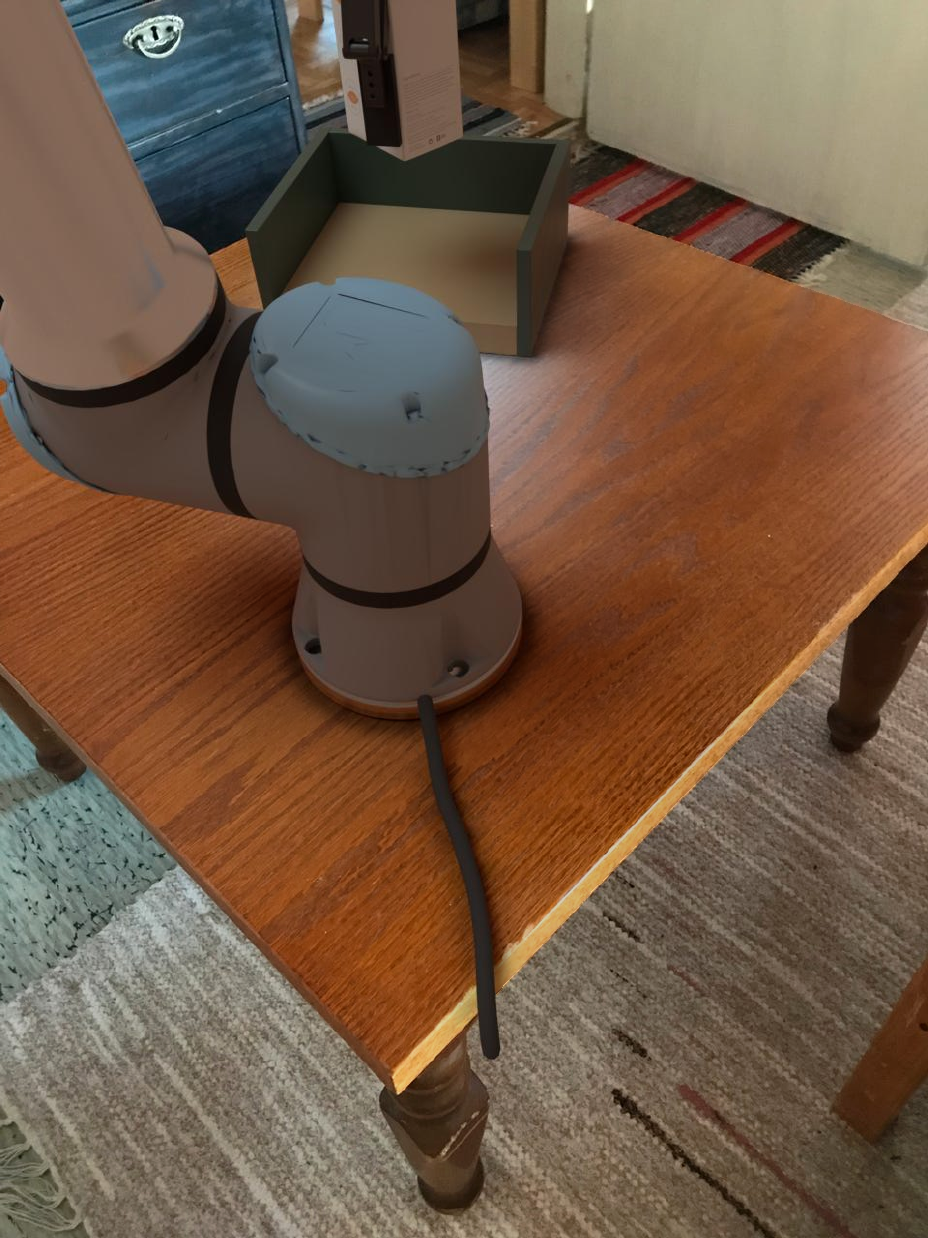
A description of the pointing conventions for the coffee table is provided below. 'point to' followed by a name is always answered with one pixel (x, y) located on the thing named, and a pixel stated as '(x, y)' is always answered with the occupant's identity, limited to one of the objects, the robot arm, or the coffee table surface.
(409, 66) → the small box
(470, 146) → the green open tray
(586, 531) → the coffee table surface
